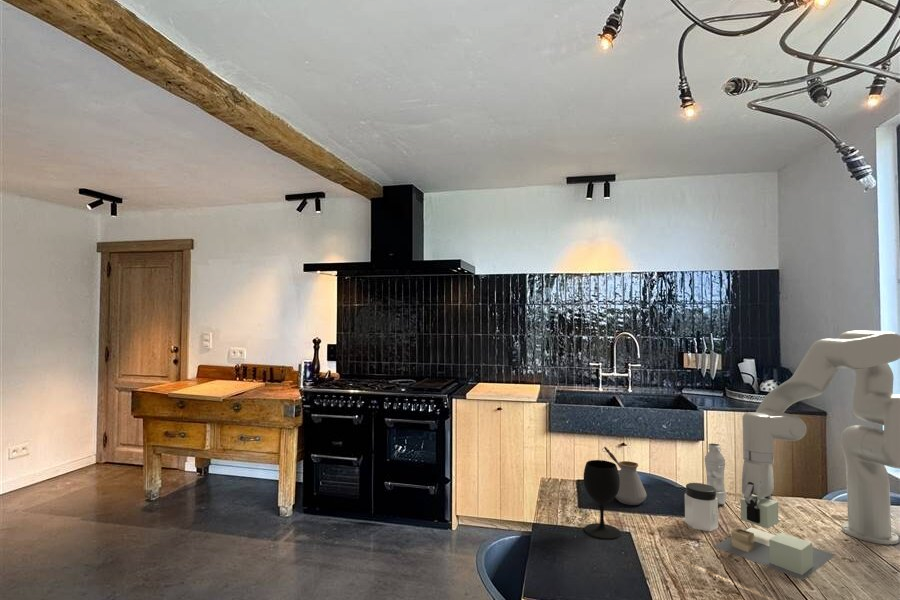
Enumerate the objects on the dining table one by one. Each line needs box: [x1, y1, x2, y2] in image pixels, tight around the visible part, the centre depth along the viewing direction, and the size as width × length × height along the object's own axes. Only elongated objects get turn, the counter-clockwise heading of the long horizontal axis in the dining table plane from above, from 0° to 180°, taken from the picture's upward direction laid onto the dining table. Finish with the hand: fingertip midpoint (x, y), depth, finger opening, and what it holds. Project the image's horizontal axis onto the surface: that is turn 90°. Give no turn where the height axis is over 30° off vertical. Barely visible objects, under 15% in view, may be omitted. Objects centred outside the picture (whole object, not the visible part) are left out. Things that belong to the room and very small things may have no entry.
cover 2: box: [769, 532, 813, 575], centre depth 120 cm, size 7×7×6 cm
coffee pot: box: [601, 446, 648, 506], centre depth 170 cm, size 21×12×15 cm, turn 13°
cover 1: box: [739, 494, 780, 530], centre depth 136 cm, size 7×7×6 cm
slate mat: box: [713, 526, 837, 581], centre depth 128 cm, size 22×21×1 cm
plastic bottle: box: [704, 443, 728, 506], centre depth 163 cm, size 6×7×20 cm
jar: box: [684, 482, 719, 532], centre depth 144 cm, size 9×8×12 cm
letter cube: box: [730, 527, 754, 552], centre depth 130 cm, size 4×4×4 cm
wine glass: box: [583, 459, 621, 540], centre depth 141 cm, size 10×10×20 cm
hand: (759, 517), depth 136 cm, fingers closed on cover 1, 7 cm apart
